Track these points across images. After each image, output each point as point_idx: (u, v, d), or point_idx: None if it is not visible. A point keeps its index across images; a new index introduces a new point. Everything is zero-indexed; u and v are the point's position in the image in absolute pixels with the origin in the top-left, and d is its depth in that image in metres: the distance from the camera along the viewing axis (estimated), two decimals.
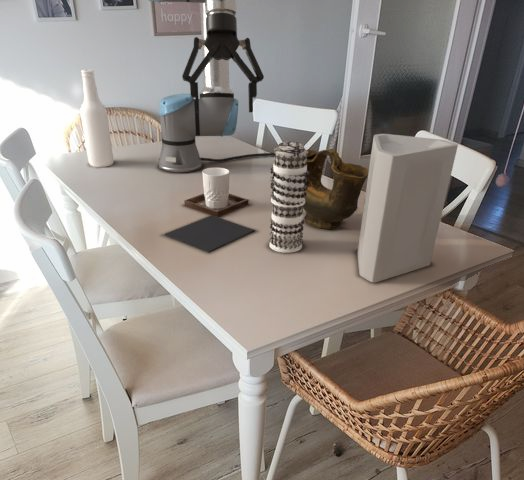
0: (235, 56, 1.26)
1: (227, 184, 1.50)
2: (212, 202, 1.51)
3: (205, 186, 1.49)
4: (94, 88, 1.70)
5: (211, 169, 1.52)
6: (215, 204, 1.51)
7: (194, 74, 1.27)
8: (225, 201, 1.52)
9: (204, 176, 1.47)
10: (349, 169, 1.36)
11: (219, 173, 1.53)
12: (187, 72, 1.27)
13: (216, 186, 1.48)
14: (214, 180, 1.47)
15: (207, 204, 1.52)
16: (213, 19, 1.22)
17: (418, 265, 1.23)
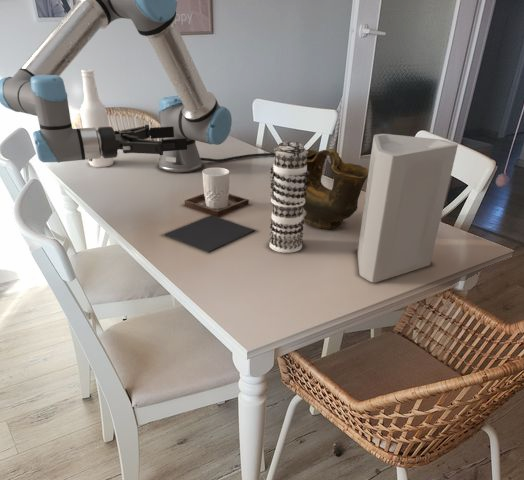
0: None
1: (227, 184, 1.50)
2: (212, 202, 1.51)
3: (205, 186, 1.49)
4: (94, 88, 1.70)
5: (211, 169, 1.52)
6: (215, 204, 1.51)
7: None
8: (225, 201, 1.52)
9: (204, 176, 1.47)
10: (349, 169, 1.36)
11: (219, 173, 1.53)
12: None
13: (216, 186, 1.48)
14: (214, 180, 1.47)
15: (207, 204, 1.52)
16: None
17: (418, 265, 1.23)
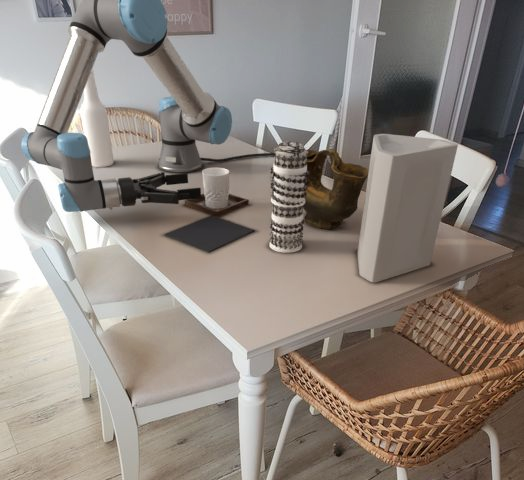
0: None
1: (227, 184, 1.50)
2: (212, 202, 1.51)
3: (205, 186, 1.49)
4: (94, 88, 1.70)
5: (211, 169, 1.52)
6: (215, 204, 1.51)
7: None
8: (225, 201, 1.52)
9: (204, 176, 1.47)
10: (349, 169, 1.36)
11: (219, 173, 1.53)
12: None
13: (216, 186, 1.48)
14: (214, 180, 1.47)
15: (207, 204, 1.52)
16: None
17: (418, 265, 1.23)
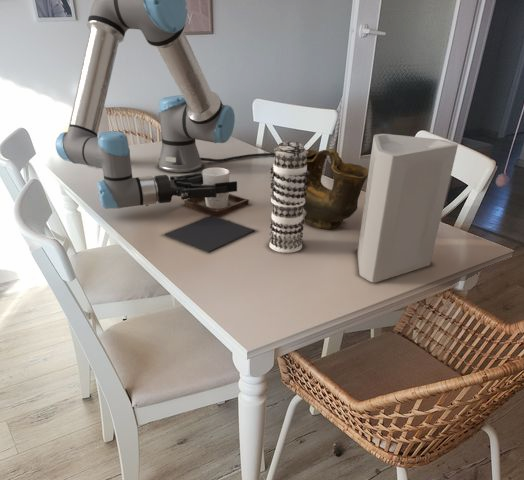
0: None
1: None
2: (212, 202, 1.51)
3: None
4: None
5: (211, 169, 1.52)
6: (215, 204, 1.51)
7: None
8: (225, 201, 1.52)
9: (204, 176, 1.47)
10: (349, 169, 1.36)
11: (219, 173, 1.53)
12: None
13: None
14: (214, 180, 1.47)
15: (207, 204, 1.52)
16: None
17: (418, 265, 1.23)
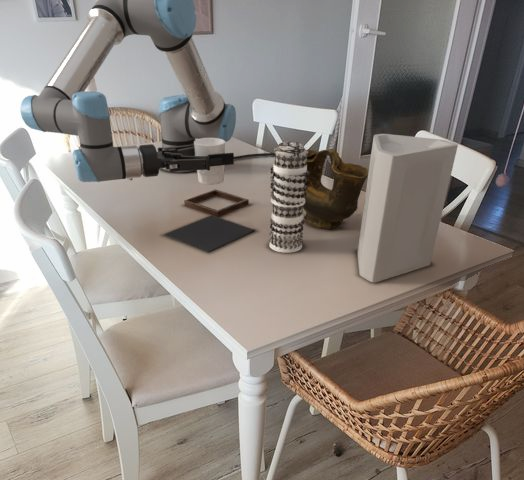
0: None
1: None
2: (205, 177, 1.33)
3: None
4: (94, 88, 1.70)
5: (204, 139, 1.34)
6: (209, 179, 1.33)
7: None
8: (220, 176, 1.34)
9: (196, 146, 1.29)
10: (349, 169, 1.36)
11: (213, 144, 1.35)
12: None
13: None
14: (207, 150, 1.28)
15: (200, 179, 1.34)
16: None
17: (418, 265, 1.23)
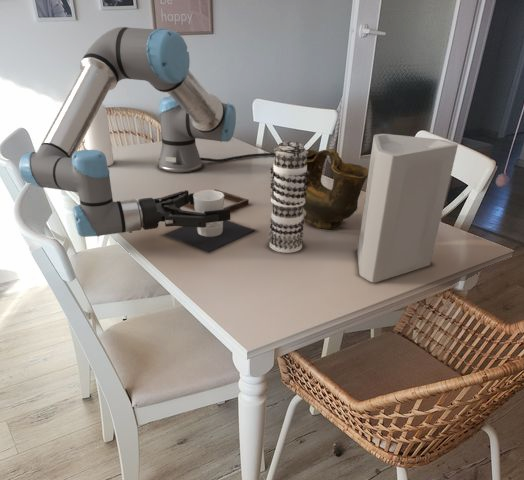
0: None
1: None
2: (205, 229, 1.34)
3: None
4: None
5: (203, 191, 1.34)
6: (208, 231, 1.34)
7: None
8: (219, 228, 1.35)
9: (195, 201, 1.30)
10: (349, 169, 1.36)
11: (213, 196, 1.35)
12: None
13: None
14: (206, 205, 1.29)
15: (199, 231, 1.35)
16: None
17: (418, 265, 1.23)
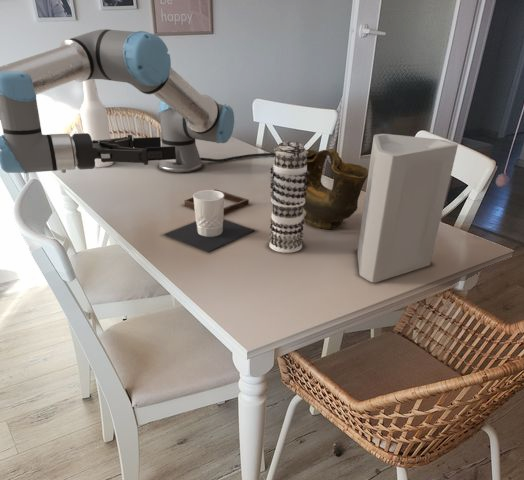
0: None
1: (221, 209, 1.32)
2: (205, 229, 1.34)
3: (197, 212, 1.32)
4: (94, 88, 1.70)
5: (203, 191, 1.34)
6: (208, 231, 1.34)
7: None
8: (219, 228, 1.35)
9: (195, 201, 1.30)
10: (349, 169, 1.36)
11: (213, 196, 1.35)
12: None
13: (209, 212, 1.30)
14: (206, 205, 1.29)
15: (199, 231, 1.35)
16: None
17: (418, 265, 1.23)
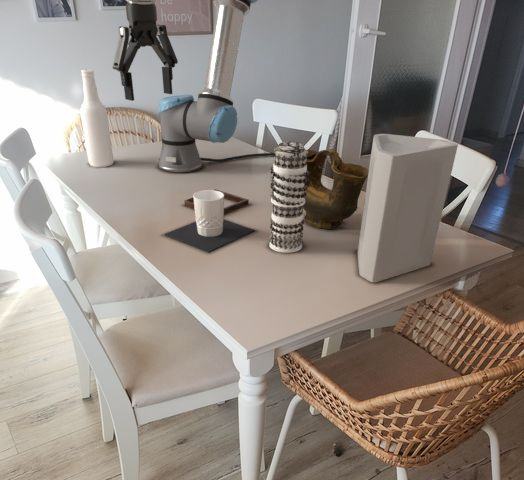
0: (158, 44, 1.35)
1: (221, 209, 1.32)
2: (205, 229, 1.34)
3: (197, 212, 1.32)
4: (94, 88, 1.70)
5: (203, 191, 1.34)
6: (208, 231, 1.34)
7: (127, 65, 1.31)
8: (219, 228, 1.35)
9: (195, 201, 1.30)
10: (349, 169, 1.36)
11: (213, 196, 1.35)
12: (122, 63, 1.29)
13: (209, 212, 1.30)
14: (206, 205, 1.29)
15: (199, 231, 1.35)
16: (143, 11, 1.26)
17: (418, 265, 1.23)
